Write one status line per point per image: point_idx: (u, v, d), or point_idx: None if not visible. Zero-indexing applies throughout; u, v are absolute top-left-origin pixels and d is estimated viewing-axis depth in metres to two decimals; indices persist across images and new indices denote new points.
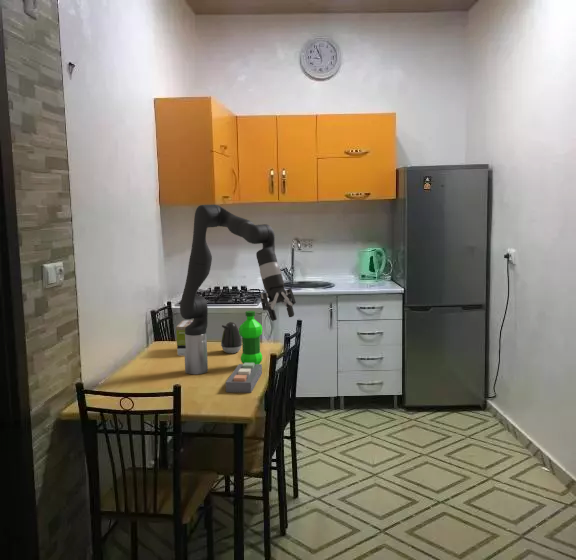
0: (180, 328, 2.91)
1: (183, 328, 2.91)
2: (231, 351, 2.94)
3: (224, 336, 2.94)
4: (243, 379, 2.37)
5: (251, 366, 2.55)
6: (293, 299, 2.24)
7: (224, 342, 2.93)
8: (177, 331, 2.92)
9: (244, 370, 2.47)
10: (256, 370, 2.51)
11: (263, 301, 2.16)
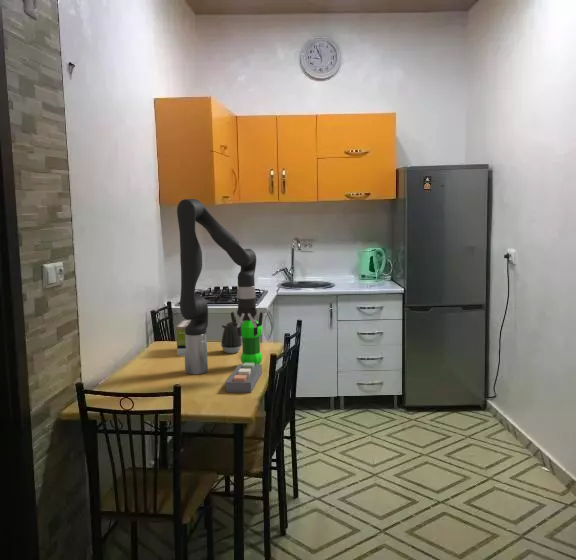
0: (180, 328, 2.91)
1: (183, 328, 2.91)
2: (231, 351, 2.94)
3: (224, 336, 2.94)
4: (243, 379, 2.37)
5: (251, 366, 2.55)
6: (259, 322, 2.53)
7: (224, 342, 2.93)
8: (177, 331, 2.92)
9: (244, 370, 2.47)
10: (256, 370, 2.51)
11: None
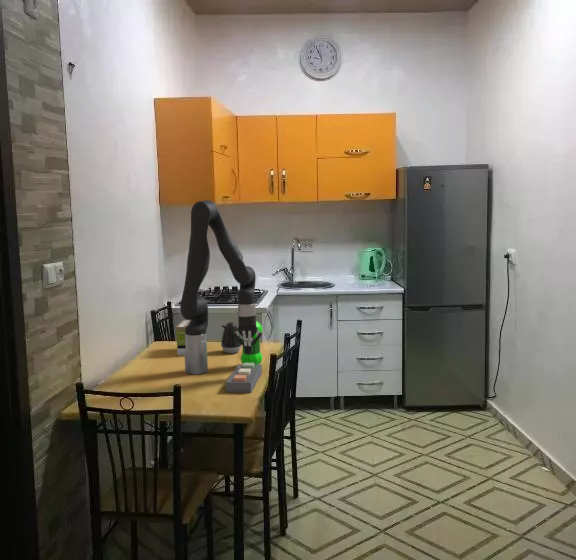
0: (180, 328, 2.91)
1: (183, 328, 2.91)
2: (231, 351, 2.94)
3: (224, 336, 2.94)
4: (243, 379, 2.37)
5: (251, 366, 2.55)
6: (255, 341, 2.54)
7: (224, 342, 2.93)
8: (177, 331, 2.92)
9: (244, 370, 2.47)
10: (256, 370, 2.51)
11: None
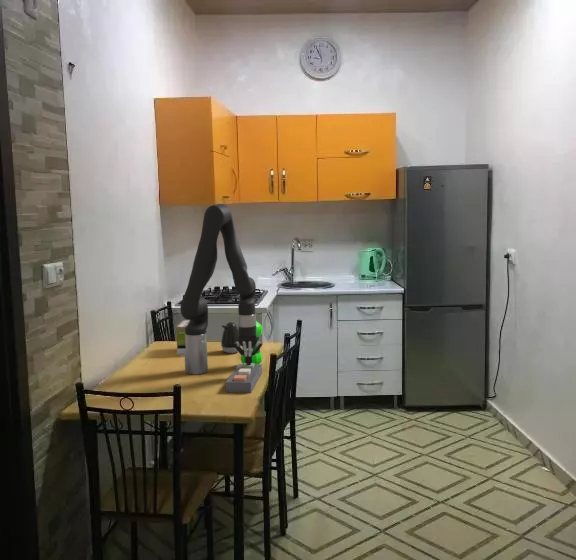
0: (180, 328, 2.91)
1: (183, 328, 2.91)
2: (231, 351, 2.94)
3: (224, 336, 2.94)
4: (243, 379, 2.37)
5: (251, 366, 2.55)
6: (255, 351, 2.54)
7: (224, 342, 2.93)
8: (177, 331, 2.92)
9: (244, 370, 2.47)
10: (256, 370, 2.51)
11: None
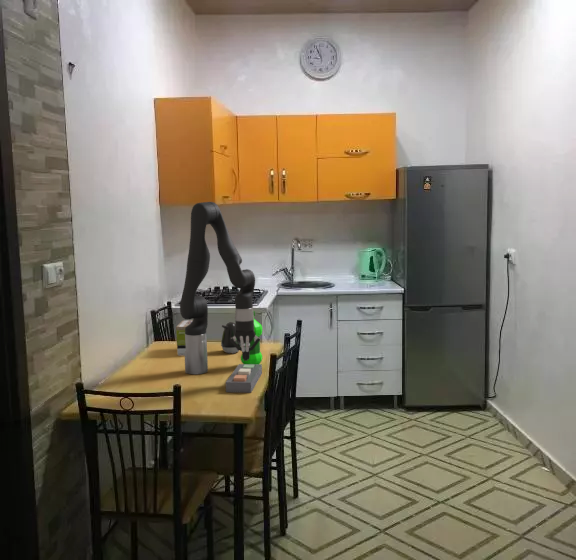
0: (180, 328, 2.91)
1: (183, 328, 2.91)
2: (231, 351, 2.94)
3: (224, 336, 2.94)
4: (243, 379, 2.37)
5: (251, 368, 2.55)
6: (252, 346, 2.46)
7: (224, 342, 2.93)
8: (177, 331, 2.92)
9: (244, 370, 2.47)
10: (256, 370, 2.51)
11: None
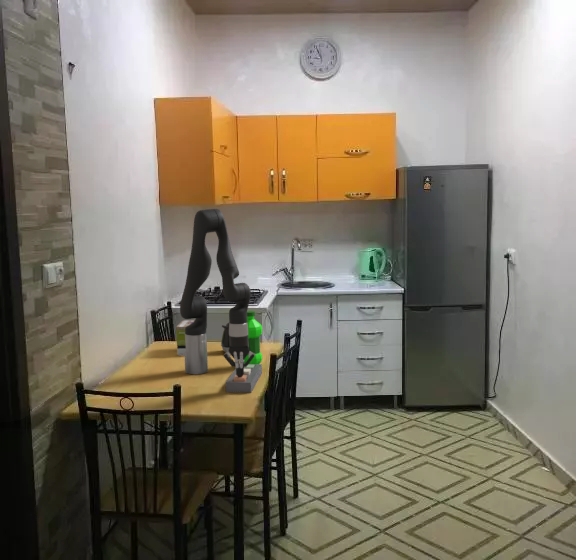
0: (180, 328, 2.91)
1: (183, 328, 2.91)
2: None
3: (224, 336, 2.94)
4: (243, 379, 2.37)
5: (251, 368, 2.55)
6: (247, 363, 2.37)
7: (224, 342, 2.93)
8: (177, 331, 2.92)
9: (244, 370, 2.47)
10: (256, 370, 2.51)
11: None
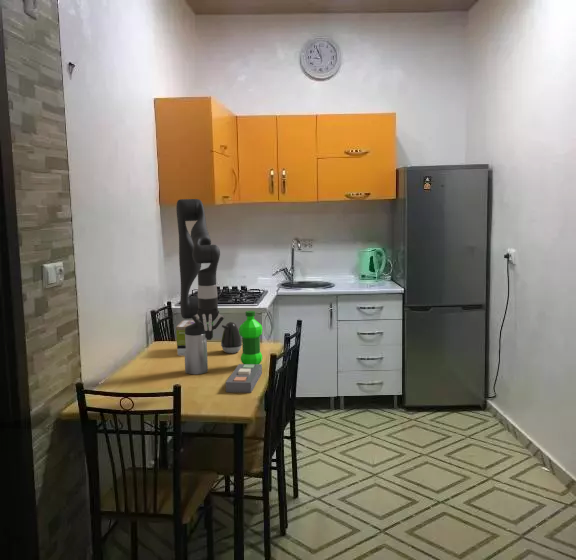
0: (180, 328, 2.91)
1: (183, 328, 2.91)
2: (231, 351, 2.94)
3: (224, 336, 2.94)
4: None
5: (251, 368, 2.55)
6: (216, 325, 2.35)
7: (224, 342, 2.93)
8: (177, 331, 2.92)
9: (244, 370, 2.47)
10: (256, 370, 2.51)
11: None
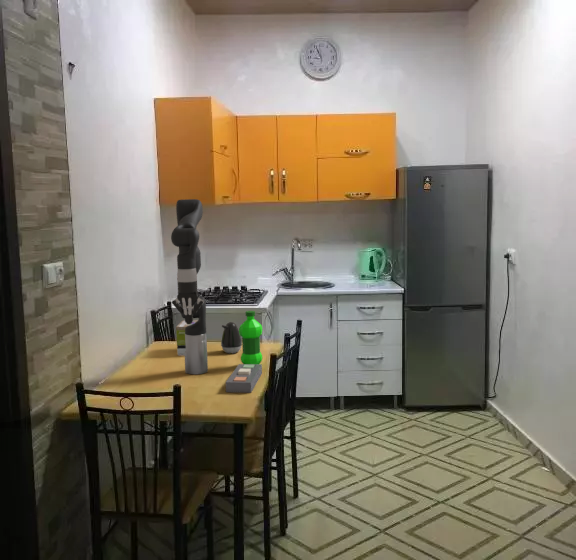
0: (180, 328, 2.91)
1: (183, 328, 2.91)
2: (231, 351, 2.94)
3: (224, 336, 2.94)
4: None
5: (251, 368, 2.55)
6: (195, 309, 2.33)
7: (224, 342, 2.93)
8: (177, 331, 2.92)
9: (244, 370, 2.47)
10: (256, 370, 2.51)
11: None
